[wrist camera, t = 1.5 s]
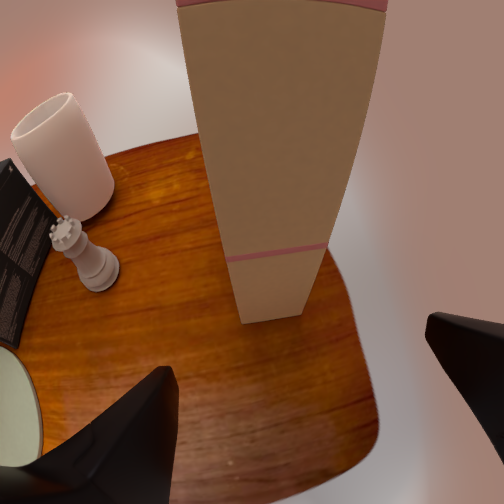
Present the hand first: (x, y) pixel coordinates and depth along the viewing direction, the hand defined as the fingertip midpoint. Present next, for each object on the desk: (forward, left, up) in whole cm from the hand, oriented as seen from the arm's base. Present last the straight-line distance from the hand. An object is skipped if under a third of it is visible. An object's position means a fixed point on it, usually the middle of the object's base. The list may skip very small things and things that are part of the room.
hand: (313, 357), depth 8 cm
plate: (+7, +31, -13) cm, 34 cm away
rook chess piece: (+17, +11, -14) cm, 24 cm away
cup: (+28, +11, -14) cm, 33 cm away
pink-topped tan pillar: (+7, -2, -13) cm, 15 cm away
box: (+22, +23, -14) cm, 35 cm away
